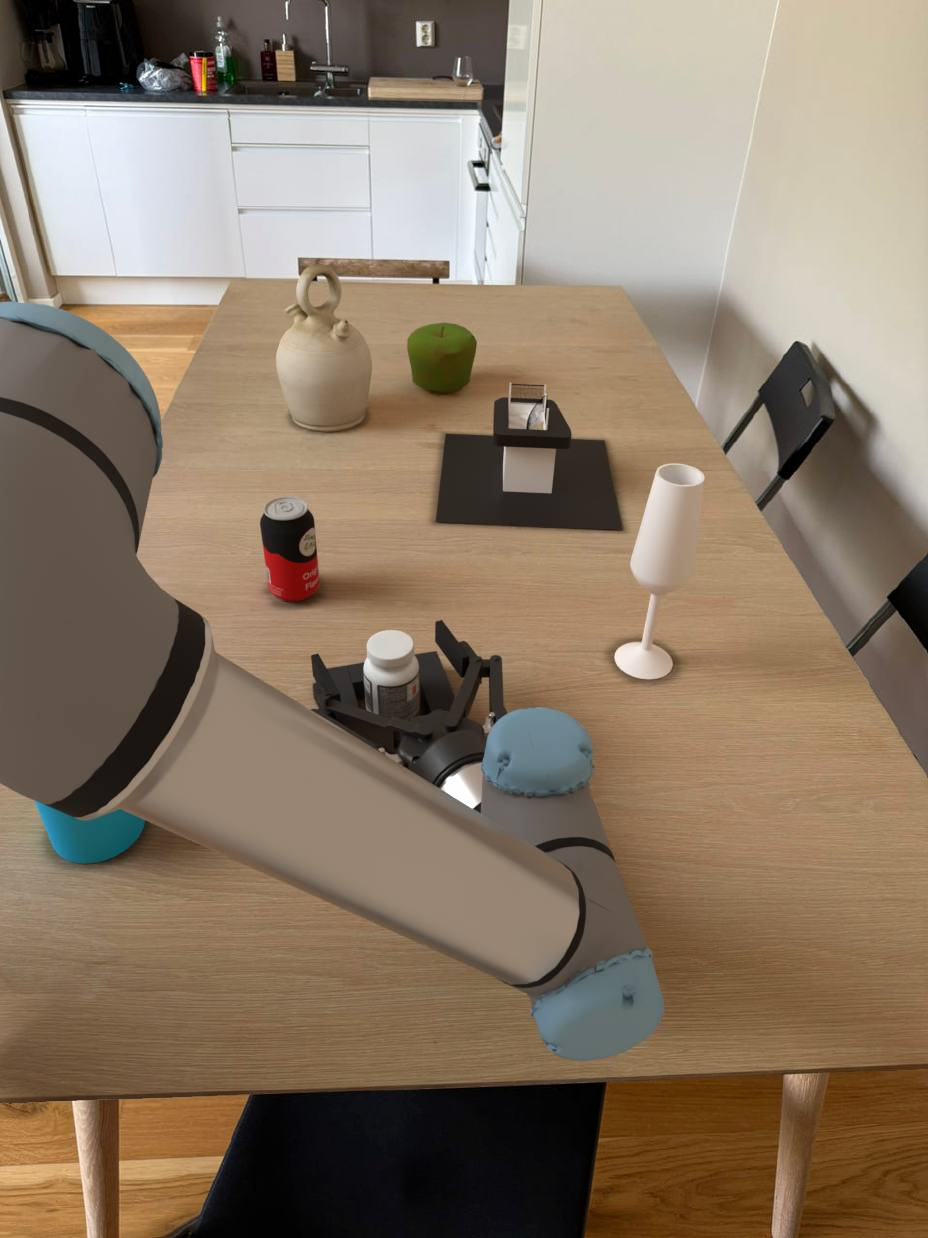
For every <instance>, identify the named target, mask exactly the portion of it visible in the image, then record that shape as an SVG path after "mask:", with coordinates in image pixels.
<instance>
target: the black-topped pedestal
mask: <svg viewBox="0 0 928 1238" xmlns="http://www.w3.org/2000/svg"><path fill="white" fill-rule="evenodd" d="M508 389H509V390H508V391H509V392H508V396H507V397H506V396H505V397H504V396H503V397H500V398H498V399H495V400H494V401H493V421H492V422H493V423H492V427H493V428H492V435H489V434H470V433H469V434H466V433H445V436H444V445H443V454H442V462H441V470H440V478H439V479H440V480H439V490H438V497H437V506H436V514H435V523H453V524H454V523H455V524H477V525H499V526H522V527H525V526H526V527H543V528H544V527H546V528H549V527H550V528H565V529H567V528H569V529H570V528H571V529H590V530H593V529H594V530H613V531H615V530H616V531H623V527H622V523H621V517H620V512H619V508H618V503H617V498H616V493H615V488H614V482H613V478H612V471H611V468H610V463H609V457H608V452H607V448H606V442H605V440H604V439H583V438H572V435H573V434H572V430H571V427H570V425H569V424H568V422H567V421H566V418H565V417H564V415H563V413H562V411H561V410H560V408H559V406H558V404H557V403H556V401H555V400H553V399H549V398H548V395H549V394H548V393H547V384H527V383H512V382H509V388H508ZM541 423H542V425H543V429H537V428H538V427H539V425H540V424H541Z"/></svg>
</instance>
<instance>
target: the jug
mask: <svg viewBox="0 0 928 1238" xmlns="http://www.w3.org/2000/svg"><path fill="white" fill-rule="evenodd" d="M319 275H322V276H324V278H325V279H326V282H327V283H328V294H327V298H326V300H325V301H324V302H323V303H322V304H321V305H318V306H314V305H312V303H311V302H310V298H309V289H310V286H311V283H312V281H314V279H315V278H316V277H317V276H319ZM295 288H296V289H295V293H296V295H295V296H296V299H297V302H295V303H292V304H290V305H289V306H287V307H286V308H285V313H286V314H288V315H289V316H290V317H291V318H292V319H293V325H292V326H291V327H289V329H287V330H286V331H285V332H284V334H283V335H282V337H281V339H280V341H279V344H278V346H277V351H276V354H275V355H276V357H275V366H276V373H277V376H278V381H279V385H280V388H281V392H282V394H283V398H284V400H285V403H286V406H287V410H288V412H289V413H290V416H291V419H292V421H293V423H295V424H296V426H298V427H301V428H303V429H305V430H310V431H316V432H326V433H327V432H340V431H347V430H349V429H352V428H354V427H356V426H358V425H360V424H361V423H362V422H363V421H364V419H365V417H366V410H367V406H368V401H369V396H370V388H371V381H372V380H371V379H372V372H373V362H372V361H373V360H372V355H371V351H370V348H369V345H368V343H367V341H366V339H365V338H364V335H363V334H362V333H361V331H360V330H358V329H357V328H356V327H355V326H353V325H352V324H351V323H350V322H349V321H348V320H347V319H340V318H337V317H336V315H335V311H336V309H337V307H339V304H340V302H341V299H342V284H341V281H340V278H339V276H338V274H337V273H336V272H335V271H334V270H333V268H331V267H329V266H327V265H325V264H323V263H313V264H311V265H309V266H308V267H306V268H305V269H304V270H303V271H302V273H301V274H300V275H299V277H298V280H297V283H296V287H295Z"/></svg>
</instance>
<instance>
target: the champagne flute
mask: <svg viewBox="0 0 928 1238" xmlns="http://www.w3.org/2000/svg"><path fill="white" fill-rule="evenodd" d="M704 487H705V475H704V473H703V472H702V471H701V470H700V469H698V468H697V467H695V466H692V465H688V464H685V463H665V464H662V465H660V466H659V467H657V468H656V471H655V474H654V478H653V481H652V484H651V487H650V491H649V495H648V498H647V502H646V505H645V508H644V512H643V517H642V519H641V522H640V527H639V530H638V533H637V537H636V540H635V543H634V547H633V550H632V555H631V558H630V562H629V563H630V570H631V573H632V575H633V577H634V578H635V580H636V582H637V583H638V584H639V585H640V586H641V587H642V588H643V589H644V590H646V591H647V592H648V593H649V594H650V597H649V602H648V608H647V613H646V617H645V624H644V628H643V632H642V633H643V634H642V640H641V641H632V642H628V643H624V644H622V645H620V647H618V648H617V649H616V651H615V653H614V662H615V664H616V666H617V667H618V668H619V669H620V670H621V671H622V672H624V674H627V675H628V676H631V677H633V678H637V679H641V680H656V679H661V678H663V677H666V676H667V675H669V673H671V671H672V669H673V666H674V664H673V663H674V661H673V659H672V657H671V656H670V654H669V653H668V652H667V651H666V650H664V649H663V648H661V647H660V646H659V645H656V644H653V643H654V637H655V632H656V627H657V621H658V616H659V611H660V607H661V603H662V598H663V596H666V595H668V594H671V593H673V592H677V591H678V590H680V589H681V588H683V587H685V586H686V585H687V584H688V583H689V582H690V581H691V579H692V578H693V577H694V573H695V567H696V559H697V551H698V541H699V540H698V539H699V531H700V523H701V513H702V505H703V496H704Z"/></svg>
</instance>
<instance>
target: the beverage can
mask: <svg viewBox="0 0 928 1238" xmlns="http://www.w3.org/2000/svg"><path fill="white" fill-rule="evenodd" d="M315 524H316V523H315V518H314V514H313V513H312V511H310V509H309V506H308V503H307V501H305V500H303V499H302V498H299V497H295V496H281V497H277V498H274V499H271V500H269V501H267V502H266V504H264V506H263V513H262V516H261V517H260V521H259V526H260V535H261V542H262V549H263V557H264V566H265V572H266V580H267V587H268V591H269V592H270V593H271V594H272V595H273V596H274V597H275V598H277V599H279V600H282V601H284V602H290V603H292V602H293V603H294V602H295V603H296V602H301V601H304V600H306V599H308V598H310V597H311V596H313V595H314V594H315V593H316V592H317V590H318V589H319V587H320V582H321V581H320V570H319V569H320V568H319V560H318V559H319V558H318V547H317V546H318V545H317V537H316V525H315Z"/></svg>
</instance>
